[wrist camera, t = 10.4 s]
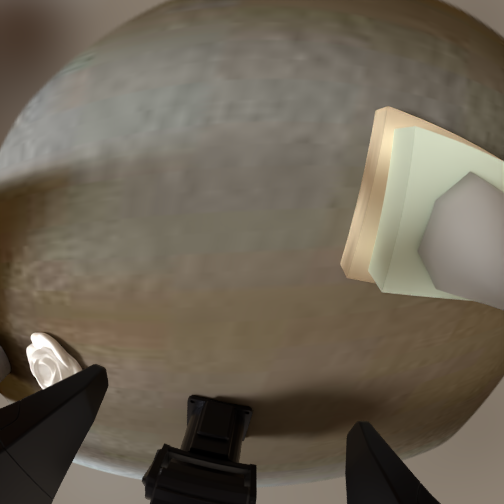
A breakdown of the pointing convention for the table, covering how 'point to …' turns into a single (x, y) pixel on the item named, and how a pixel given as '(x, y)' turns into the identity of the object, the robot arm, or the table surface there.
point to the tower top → (420, 204)
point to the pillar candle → (4, 365)
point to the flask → (467, 242)
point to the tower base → (379, 188)
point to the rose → (49, 360)
